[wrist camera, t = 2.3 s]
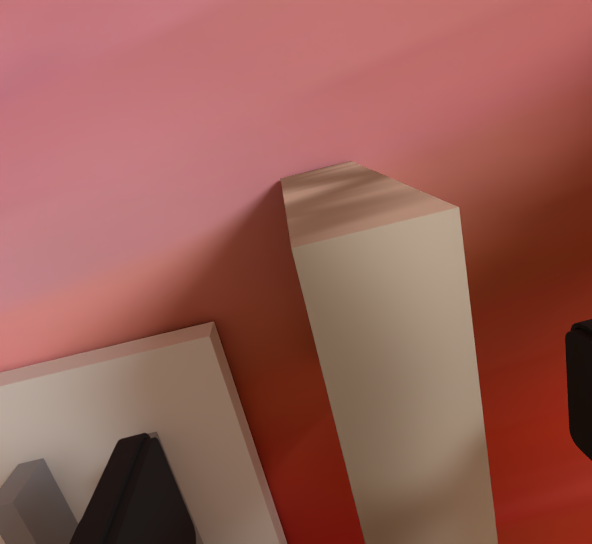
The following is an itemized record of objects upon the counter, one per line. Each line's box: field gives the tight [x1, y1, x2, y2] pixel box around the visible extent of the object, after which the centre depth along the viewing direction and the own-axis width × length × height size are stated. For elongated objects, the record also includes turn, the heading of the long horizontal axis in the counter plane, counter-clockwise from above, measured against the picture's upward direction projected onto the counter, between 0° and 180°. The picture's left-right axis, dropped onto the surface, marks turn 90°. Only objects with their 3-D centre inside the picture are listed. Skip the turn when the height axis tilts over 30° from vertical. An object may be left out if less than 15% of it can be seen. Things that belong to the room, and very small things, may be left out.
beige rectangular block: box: [280, 161, 498, 544], centre depth 14 cm, size 3×9×11 cm, turn 14°
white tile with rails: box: [0, 321, 287, 544], centre depth 21 cm, size 14×18×4 cm
